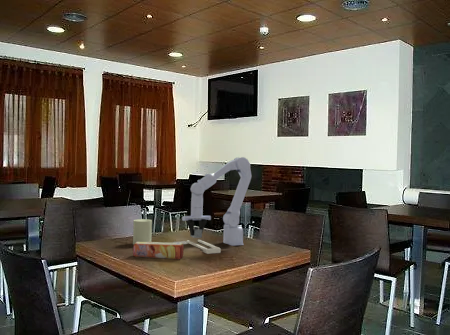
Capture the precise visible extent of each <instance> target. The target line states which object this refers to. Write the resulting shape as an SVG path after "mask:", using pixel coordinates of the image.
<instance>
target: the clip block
mask: <svg viewBox="0 0 450 335" xmlns="http://www.w3.org/2000/svg"><path fill="white" fill-rule="evenodd" d="M189 236H190V237H191V238H194V239H196V238H197V239H202V237H203V232H202V229H200V228H199V226H194V234H193V236H192V235H190V234H189Z"/></svg>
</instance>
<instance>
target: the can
mask: <svg viewBox="0 0 450 335" xmlns="http://www.w3.org/2000/svg"><path fill="white" fill-rule="evenodd" d="M152 223H153V219H145V218H138V219H133V223H132V224H133V229H132V231H133V232H132V245H134V244H135V243H136V242H152V225H153V224H152Z"/></svg>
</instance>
